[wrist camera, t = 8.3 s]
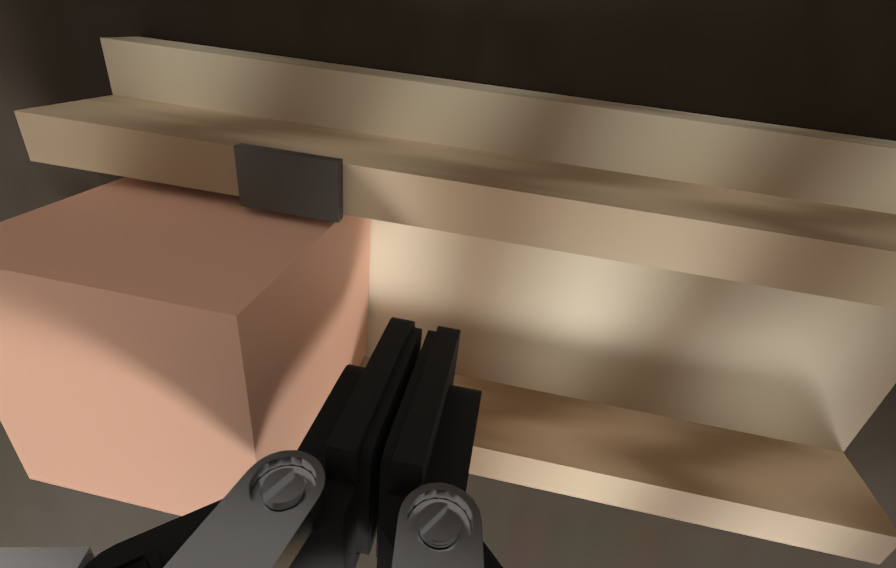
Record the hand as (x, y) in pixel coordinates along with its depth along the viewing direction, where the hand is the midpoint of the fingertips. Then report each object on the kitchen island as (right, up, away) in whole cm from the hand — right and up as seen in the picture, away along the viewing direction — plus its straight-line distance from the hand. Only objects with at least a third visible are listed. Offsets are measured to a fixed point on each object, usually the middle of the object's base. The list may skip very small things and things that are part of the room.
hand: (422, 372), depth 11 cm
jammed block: (-5, +3, +4) cm, 7 cm away
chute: (+2, +2, +5) cm, 6 cm away
